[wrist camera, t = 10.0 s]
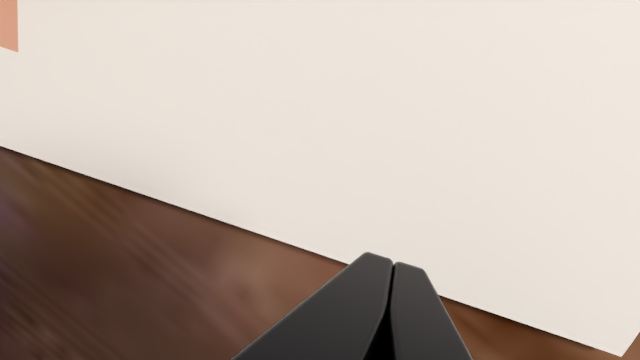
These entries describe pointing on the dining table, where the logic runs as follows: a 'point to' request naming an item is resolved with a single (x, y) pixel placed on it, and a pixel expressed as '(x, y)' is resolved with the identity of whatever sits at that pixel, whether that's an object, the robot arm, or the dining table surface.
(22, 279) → the dining table surface
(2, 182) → the dining table surface
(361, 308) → the robot arm
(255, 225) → the push board
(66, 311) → the dining table surface
